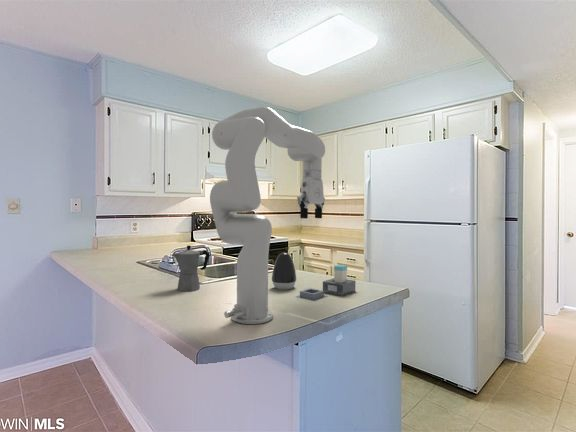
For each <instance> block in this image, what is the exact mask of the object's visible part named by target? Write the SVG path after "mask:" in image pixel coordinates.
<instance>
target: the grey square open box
mask: <svg viewBox="0 0 576 432" xmlns="http://www.w3.org/2000/svg"><path fill="white" fill-rule="evenodd" d="M295 298H298V299H303V300H306V301H311V302H317V301H319V300H322V299H326V298H329V296H328V295H325V293H324V291H323V289H322V290H321V289H316V288H311V287H309V288H306V289H302V290H300V291H299V295H296V296H295Z"/></svg>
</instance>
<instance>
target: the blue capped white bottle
mask: <svg viewBox="0 0 576 432" xmlns="http://www.w3.org/2000/svg"><path fill="white" fill-rule="evenodd" d="M333 266H334V267H333V270H334V273H333V274H334V276H333V278H334V282H338V283H343V282H346V281H347V276H348V274H347V273H348V272H347V271H348V265H344V264H336V265H333Z"/></svg>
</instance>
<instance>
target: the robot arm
mask: <svg viewBox="0 0 576 432" xmlns="http://www.w3.org/2000/svg"><path fill="white" fill-rule="evenodd" d="M211 136H212V141H213V143H214V145H215V146H216V147H217V148H219V149H220V150H223V151H225V150H227V154H226V157H225V161H224V167H225V174H226V180H221V181H217V182H216V183H215V184H214V185H213V186H212V188H211V190H210V193H209V194H210V195H209V202H210V207H211V212H212V216H213V220H214V221H213V222H214V224H215V228H216V232H217V235H218V237H219V239H220V240H221V241H222V242H223V243H226V244H228V245H229V244H230V245H240V246H242V248H241V250H240V251H239V254H238V256H237V260H236V303H235V304H233V305H234V306H233V308H232V309H231V310H230V309H229V310H226V311H224V313H223V315H224V317H225V318H226V319H229V318H231V320H232V321H234V322H235V323H239V324H242V325H243V324H244V325H257V324H264V323H267V322H269V321H271V320H272V319H273V318H274V313H273V311H272V310H270V309H269V254H270V253H269V250H270V245H271V238H272V233H273V227H272V223H271V221H270V220H269V219H268V217H266V216H264V215H260V214H253V213H252V214H250V213H249V214H247V213H248V212H255V211H256V210H258V208H259V207H260V205H261V199H262V198H261V192H260V187H259V182H258V175H257V171H256V162H255V161H256V155H257V152H258V151H259V148H260V147H261V144H262V143H263V141H264V139H266V140H268V141H270V142H271V143H272V144H273V145H275V146H277V147H279V148H281V149H282V148H284V149H287V155H288V157H289V158H290V159H291V160H292V161H294V162H302V179H301V184H300V185H301V187H300V194H299V195H297V197H296V199H297V203H298V205H299V210H300V213H299V215H300V219H308V218H309V208H308V206H309V205H314V207H315V208H314V218H315V219H323V209H324V205H325V200H326V198H325V196H324V183H323V179H322V167H323V166H322V164H323V162H322V161H323V160H322V158H323V157H324V156H325V154H326V146H325V142H323V140H322V138H321V137H320V136H318V134H316V133H315V132H313V131H312V130H308V129H305V128H302V127H299V126H295V125H292V124H290V123H289V122H288V121H286V120H285V118H283V117H282V116H281V115H279V113H277V112H276V111H275V110H274V109H272V108H270V107H267V106H260V107H259V106H258V107H254V108H249V109H243V110H240V111H239V112H236V113H234V114H232V115H230V116H228V117H226V118H224V119H222V120H220V121H218V122H217V123H216V124H215V125H214V127H213V128H212V132H211ZM241 212H243V214H240V213H241ZM244 212H247V213H244ZM238 213H239V214H238Z"/></svg>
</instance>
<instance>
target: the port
mask: <svg viewBox="0 0 576 432" xmlns="http://www.w3.org/2000/svg"><path fill="white" fill-rule="evenodd" d="M322 291H324V294H330V295H335V296H338V297H339V296H340V297H345V296H347V295H349V294H352V293H354V292H356V280H353V279H347V281H346V282H343V283H338V282H334V277H332V278H330V279H326V280H324V281H322Z"/></svg>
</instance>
